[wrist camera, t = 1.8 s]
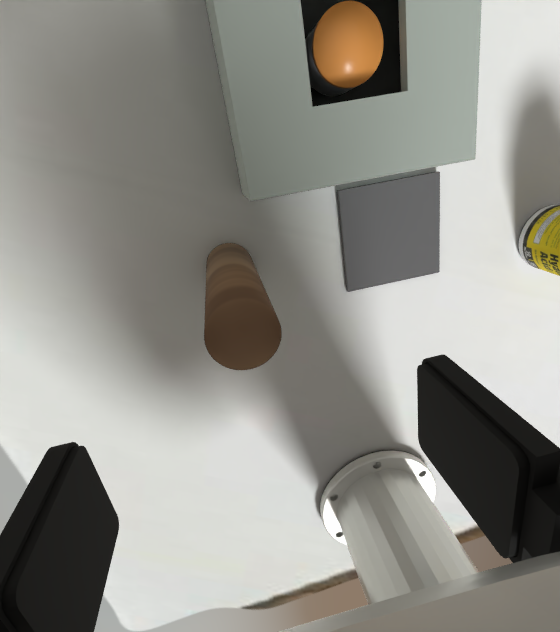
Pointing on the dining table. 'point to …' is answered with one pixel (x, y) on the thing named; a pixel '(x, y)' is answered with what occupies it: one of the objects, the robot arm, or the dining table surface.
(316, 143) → the grey square block
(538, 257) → the supplement bottle
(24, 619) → the robot arm
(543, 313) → the dining table surface
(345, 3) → the orange dome button
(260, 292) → the dowel
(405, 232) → the pad
